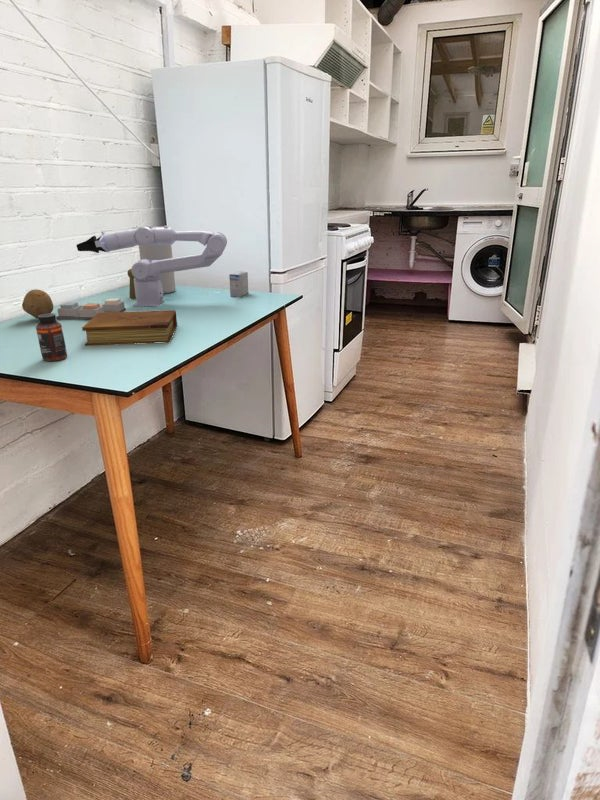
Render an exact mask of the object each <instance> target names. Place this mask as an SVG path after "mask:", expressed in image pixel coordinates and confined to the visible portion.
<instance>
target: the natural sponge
mask: <svg viewBox="0 0 600 800" xmlns="http://www.w3.org/2000/svg"><path fill="white" fill-rule="evenodd" d="M21 307H22V309H23V311H24V312H25V313H27V314H29V315H31V317H34V318H35V319H37V320H38V316H39V315H41V314H48V313H52V312H53V310H54V303H53V300H52V298H51V296H50V295H49V294H48V293H47V292H46V291H44V290H41V289H37V288H35V289H30V290H29V291H28V292H27V293H26V294H25V296H24V297H23V301H22V303H21Z"/></svg>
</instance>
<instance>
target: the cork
mask: <svg viewBox="0 0 600 800" xmlns="http://www.w3.org/2000/svg"><path fill="white" fill-rule="evenodd" d="M131 269H132V268H129V269H128V270H127V276H128V278H129V299H130V298H131V300H136V295H135V287H134V277H133V275H132V272H131Z"/></svg>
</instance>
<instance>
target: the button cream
mask: <svg viewBox="0 0 600 800" xmlns="http://www.w3.org/2000/svg"><path fill="white" fill-rule="evenodd" d="M121 301H122V300H121V298H108V299H106V300H104V303H105V304H118V303H120V302H121Z"/></svg>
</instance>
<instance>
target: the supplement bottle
mask: <svg viewBox="0 0 600 800" xmlns="http://www.w3.org/2000/svg"><path fill="white" fill-rule="evenodd" d="M37 320H38V323H37V325H36V326H35V330H36V335H37V339H38V344H39V349H40V354H41V357H42V361H43V360H44V361H45V362H58V361H62V360H64V359H66V358H67V357H68V353H67V347H66V343H65V336H64V330H63V326H62V324H61V323H60V322H59V321H58V319H57V316H56V314H55V313H52V312H51V313H48V314H41V315H39V316H38V319H37Z"/></svg>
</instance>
